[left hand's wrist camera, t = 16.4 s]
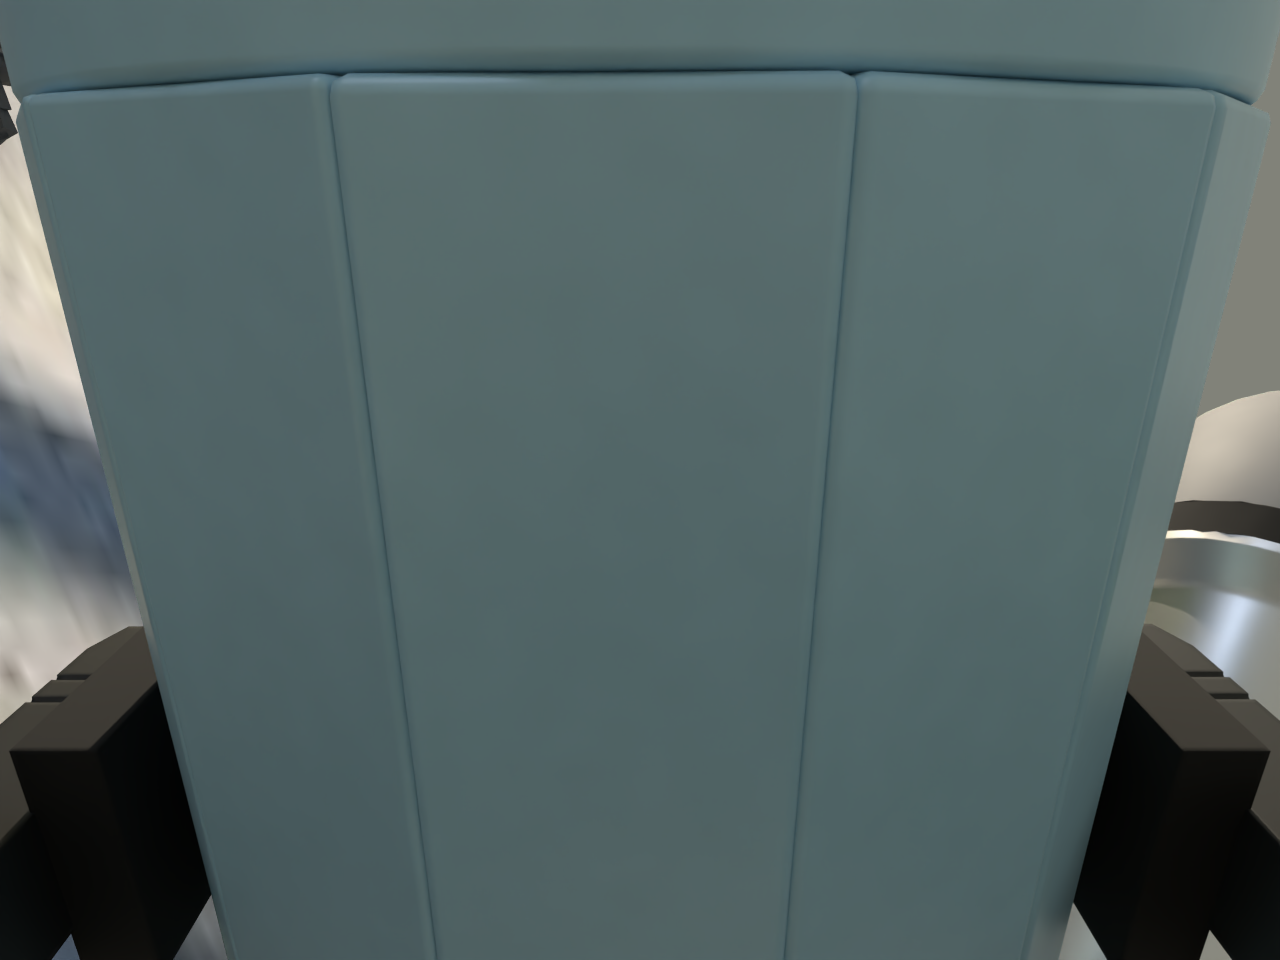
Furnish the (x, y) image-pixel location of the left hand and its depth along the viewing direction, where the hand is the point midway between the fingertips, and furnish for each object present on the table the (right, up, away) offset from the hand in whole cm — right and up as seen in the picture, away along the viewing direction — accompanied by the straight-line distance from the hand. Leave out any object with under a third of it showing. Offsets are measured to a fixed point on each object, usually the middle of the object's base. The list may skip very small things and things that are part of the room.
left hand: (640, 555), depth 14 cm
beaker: (0, +5, -7) cm, 8 cm away
